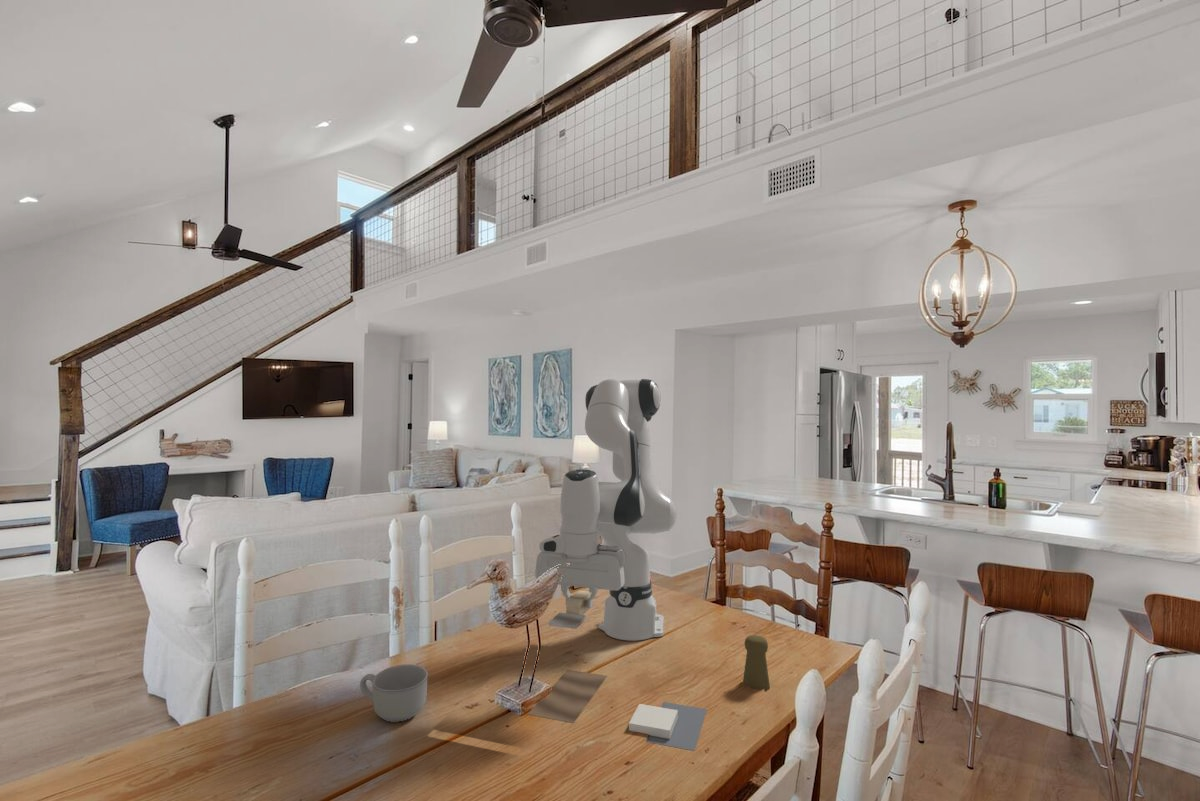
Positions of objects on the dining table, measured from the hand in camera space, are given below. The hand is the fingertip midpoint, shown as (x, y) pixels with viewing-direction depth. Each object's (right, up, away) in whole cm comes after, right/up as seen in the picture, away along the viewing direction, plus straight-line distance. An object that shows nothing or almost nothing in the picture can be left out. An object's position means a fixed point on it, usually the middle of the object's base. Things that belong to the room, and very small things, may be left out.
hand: (579, 605), depth 130 cm
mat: (+16, -19, -13) cm, 28 cm away
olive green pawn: (+41, -20, +4) cm, 45 cm away
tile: (+17, -18, -11) cm, 27 cm away
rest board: (-2, -19, -3) cm, 19 cm away
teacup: (-38, -19, -10) cm, 44 cm away
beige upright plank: (-1, -1, -3) cm, 3 cm away
